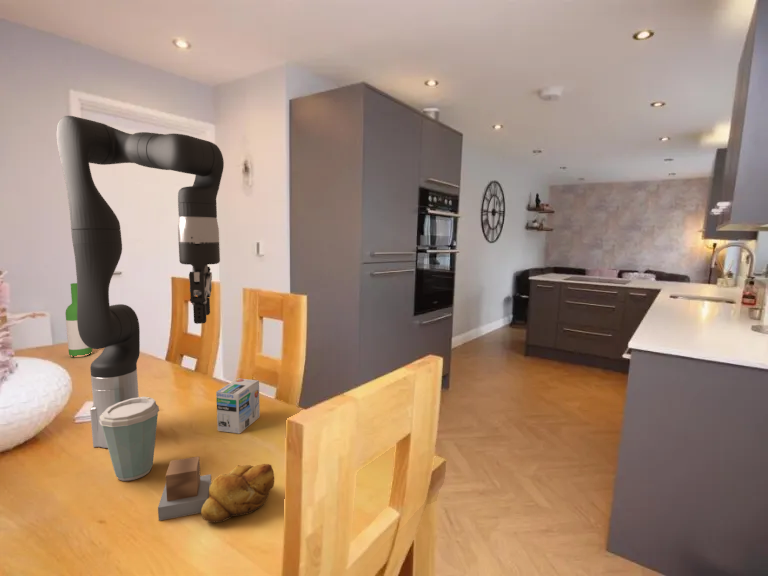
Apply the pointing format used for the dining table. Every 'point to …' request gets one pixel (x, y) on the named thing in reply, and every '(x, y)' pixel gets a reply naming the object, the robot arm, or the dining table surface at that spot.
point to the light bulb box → (238, 405)
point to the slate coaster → (184, 502)
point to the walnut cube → (183, 478)
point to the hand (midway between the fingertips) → (202, 318)
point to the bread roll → (238, 492)
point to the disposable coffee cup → (131, 436)
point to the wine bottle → (74, 327)
